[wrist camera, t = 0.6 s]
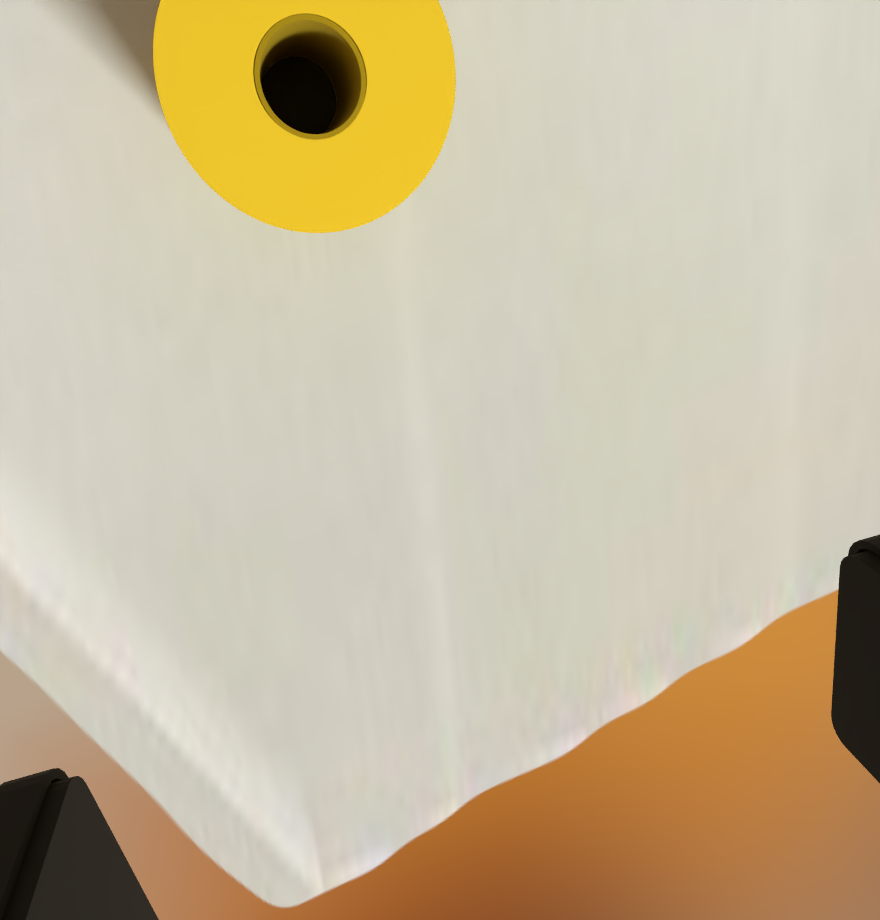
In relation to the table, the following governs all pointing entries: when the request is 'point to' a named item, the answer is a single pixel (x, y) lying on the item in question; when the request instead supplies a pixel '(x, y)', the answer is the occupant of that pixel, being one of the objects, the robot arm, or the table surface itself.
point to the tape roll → (357, 103)
